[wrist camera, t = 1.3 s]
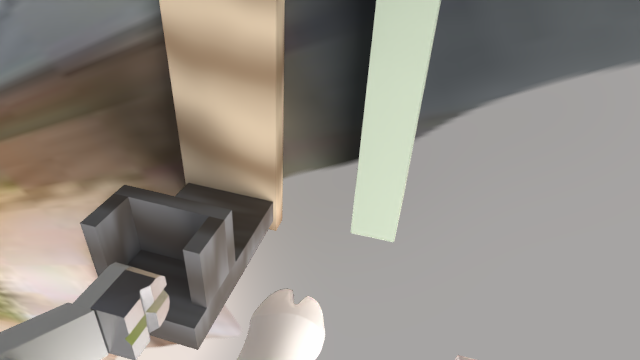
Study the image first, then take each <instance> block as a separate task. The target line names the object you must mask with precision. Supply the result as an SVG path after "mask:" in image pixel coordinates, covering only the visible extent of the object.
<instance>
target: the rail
mask: <svg viewBox="0 0 640 360" xmlns="http://www.w3.org/2000/svg"><path fill="white" fill-rule="evenodd" d="M440 3H441V0H376V9H375V18H374V27H373V36H372V45H371V54H370V63H369V72H368V81H367V90H366V99H365V108H364V117H363V126H362V135H361V144H360V153H359V162H358V171H357V181H356V189H355V198H354V207H353V217H352V226H351V233H353V234H358V235H362V236H367V237H371V238H376V239H381V240H386V241H389V242H394V240H395V235H396V231H397V226H398V221H399V216H400V212H401V207H402V202H403V197H404V191H405V187H406V181H407V176H408V171H409V166H410V161H411V155H412V150H413V145H414V139H415V134H416V129H417V124H418V118H419V113H420V108H421V103H422V97H423V92H424V87H425V82H426V77H427V71H428V66H429V61H430V56H431V50H432V45H433V40H434V35H435V29H436V24H437V19H438V14H439V8H440Z"/></svg>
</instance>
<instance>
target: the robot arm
mask: <svg viewBox="0 0 640 360" xmlns="http://www.w3.org/2000/svg"><path fill="white" fill-rule="evenodd" d="M166 285H167V283H166V279H165V276H161V275H158V274H155V273H151V272H148V271H145V270H141V269H138V268H134V267H131V266H128V265H124V264H120V263H117V262H115V263H113V264H111V265H109V266H108V267H107V268H106V269H105V270H104V271H103V272H102V273H101V274H100V276H99V277H98V278H97V279H96V280H95V281H94V282H93V283H92V284H91V285H90V286H89V287H88V288H87V289H86V290H85V291H84V292H83V293H82V294H81V295H80V296H79V297H78V298H77V300H76V301H75V302H74V303H73V304H71V303H66V304H64V305H61V306H59V307H57V308H55V309H52V310H50V311H48V312H45V313H43V314H41V315H39V316H36V317H34V318H32V319H30V320H27V321H25V322H23V323H20V324H18V325H16V326H14V327H11V328H9V329H7V330H4V331H2V332H0V360H101V359H103V358H104V357H106V356H107V355H108V353H110V354H114V355H117V356H121V357H125V358H128V359H132V360H137V359H138V357H139V356H140V354H141V353H142V352H143V350H144V349H145V347H146V346H147V345H148V343H149V342H150V332H152V331H154V330H156V329H158V328H159V327H160V326H161V324H162V323H163V321H164V320H165V318H166V315H167V313H168V310H169V304H170V300H169V295H168V294H167V293H166V292H165V290H164V288H165V287H166ZM455 360H476V359H472V358H468V357H464V356H460V355H458V356H456V358H455Z"/></svg>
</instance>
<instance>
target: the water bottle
mask: <svg viewBox="0 0 640 360" xmlns="http://www.w3.org/2000/svg"><path fill="white" fill-rule="evenodd" d="M323 322H324V321H323V314H322V310H321V308H320V305H319V303H318V302H317V301H316V300H315V299H314V298H312V297H309V296H307V297H305V298H304V299H303V300H302V301H301V302H299V303H298V304H294V295H293V290H290V289H280V290H278V291H276V292H274V293H273V294H271V295H270V296H269V297H267V298H266V299H265V300H264V301H263V302H262V304H261V305H260V306H259V307H258V308H257V310H256V311H255V312H254V314H253V316H252V318H251V320H250V326H249V331H248V335H247V338H246V341H245V344H244V346H243V349H242V351H241V353H240V355H239V357H238V359H237V360H315V359H316V358H317V356H318V355H319V353H320V351H321V349H322V346H323V342H324V338H325V327H324V323H323Z"/></svg>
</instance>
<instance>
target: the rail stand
mask: <svg viewBox="0 0 640 360" xmlns="http://www.w3.org/2000/svg"><path fill="white" fill-rule="evenodd" d="M159 3H160V10H161V16H162V23H163V30H164V37H165V44H166V51H167V58H168V65H169V72H170V78H171V85H172V92H173V99H174V106H175V113H176V120H177V127H178V134H179V141H180V147H181V154H182V161H183V168H184V175H185V182H186V185H185V187H184V188H183V189H182V190H181V191H180V192H179V193H178V194H177V195H176V196H175V197H174V196H170V195H166V194H162V193H157V192H153V191H149V190H145V189H140V188H136V187H132V186H127V185H123V186H122V187H121V188H120V189H119V190H118V191H117V192H115V193H114V194H113V195H112V196H111V197H110V198H109V199H107V200H106V201H105V202H104V203H103V204H102V205H100V206H99V207H98V208H97V209H96V210H95V211H94V212H92V213H91V214H90V215H89V216H88V217H87V218H86V219H84V220H83V221H82V222H81V223H80V224H81V227H82V230H83V233H84V236H85V239H86V242H87V245H88V248H89V251H90V254H91V257H92V260H93V263H94V266H95V269H96V272H97V275H98V277H99V276H100V274H101V273H102V272H103V271H104V270H105V269H106V268H107V267H108V266H109V265H111V264H113V263H115V262H117V263H120V264H124V265H128V266H131V267H134V268H138V269H141V270H145V271H148V272H151V273H155V274H158V275H161V276H165V279H166V283H167V285H166V287H165V288H164V290H165V292H166V293H167V294H168V295H169V300H170V304H169V310H168V313H167V315H166V318H165V320H164V321H163V323H162V324H161V326H160V327H159V328H158V329H156V330H154V331H152V332H150V335H151V336H155V337H158V338H161V339H164V340H168V341H171V342H174V343H177V344H181V345H184V346H187V347H191V348H194V349H197V350H198V349H199V347H200V345H201V344H202V342H203V340H204V339H205V337H206V335H207V333H208V332H209V330H210V328H211V327H212V325H213V323H214V321H215V320H216V318H217V316H218V315H219V313H220V311H221V309H222V308H223V306H224V304H225V303H226V301H227V299H228V297H229V295H230V294H231V292H232V291H233V289H234V287H235V286H236V284H237V282H238V280H239V279H240V277H241V275H242V274H243V272H244V270H245V268H246V267H247V265H248V263H249V262H250V260H251V258H252V256H253V255H254V253H255V251H256V250H257V248H258V246H259V244H260V243H261V241H262V239H263V238H264V236H265V234H266V232H267V231H268V229H271V230H275V231H276V230H277V228H278V226H279V225H280V223H281V221H282V190H283V103H284V14H285V0H159Z"/></svg>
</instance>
